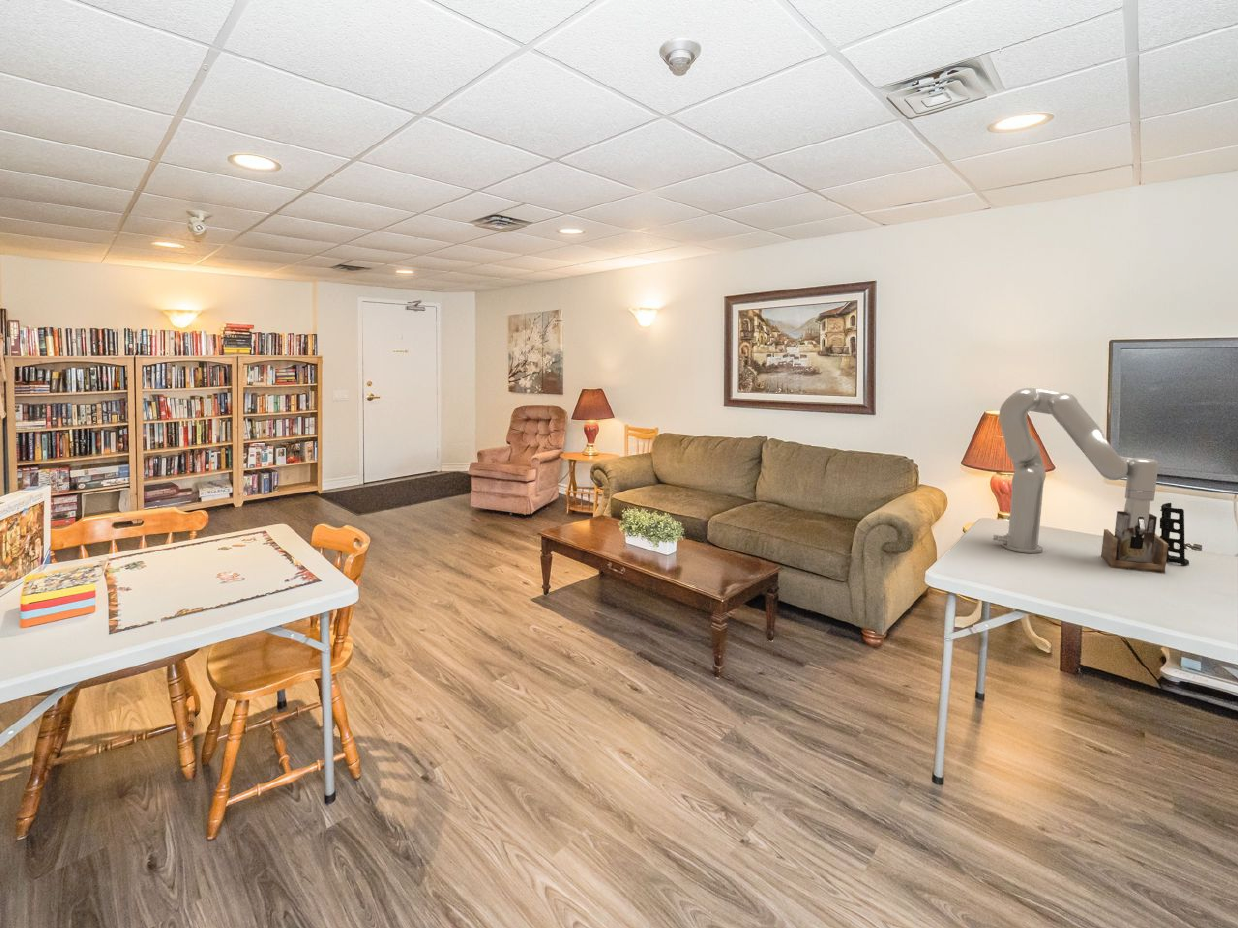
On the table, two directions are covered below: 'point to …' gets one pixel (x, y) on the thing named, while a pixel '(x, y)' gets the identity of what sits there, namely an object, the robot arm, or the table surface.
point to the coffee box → (1125, 536)
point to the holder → (1168, 527)
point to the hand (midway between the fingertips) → (1132, 545)
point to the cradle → (1156, 566)
